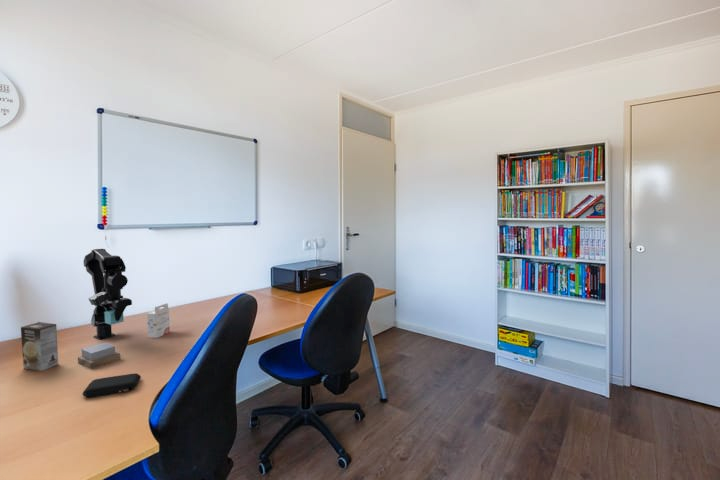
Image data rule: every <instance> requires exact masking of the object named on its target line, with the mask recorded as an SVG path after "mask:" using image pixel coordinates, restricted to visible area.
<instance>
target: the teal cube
mask: <svg viewBox="0 0 720 480" xmlns="http://www.w3.org/2000/svg"><path fill="white" fill-rule="evenodd" d="M104 313H105V323H107V324H110V325H111V326H112V325H115V324H120V323H123V322H124V320H125V319H124V313H123V314H122V316H121V318H120V320H119V321H116V319H115V315H114V310H110V311H106V312H104Z"/></svg>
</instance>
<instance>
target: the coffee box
mask: <svg viewBox="0 0 720 480" xmlns="http://www.w3.org/2000/svg"><path fill="white" fill-rule="evenodd" d="M20 335H21V349H22V353H21V354H22V366H23V369H25V370H26V369H27V370H31V371H40V372H42V371H45V370H47V369H48V370H49V369H50V368H52V367H55V366H57V365H59V352H58V351H59V349H58V327H57V324H56V323H49V322H43V321H41V322H40V321H38V322H34V323H31V324H28V325H24V326H20Z"/></svg>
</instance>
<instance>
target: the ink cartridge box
mask: <svg viewBox="0 0 720 480" xmlns="http://www.w3.org/2000/svg"><path fill="white" fill-rule="evenodd" d="M146 320H147V321H146V322H147V335H148V338H155V339H157V338H160V337H162V336H164V335H167V334H169V333H170V327H171V326H170V309H169V303H164V304H161V305H158V306H155V307H154V310H152V311H150V312H146Z"/></svg>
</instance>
